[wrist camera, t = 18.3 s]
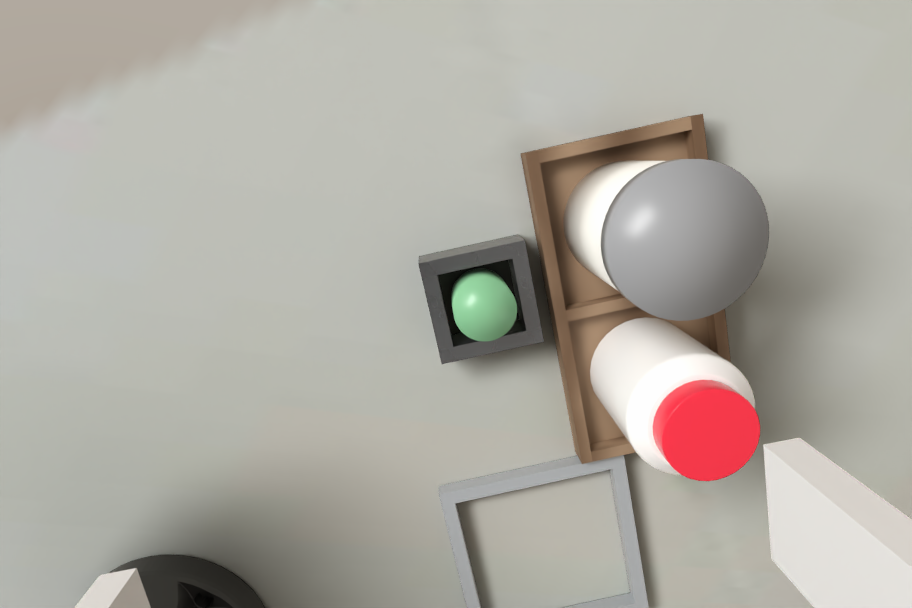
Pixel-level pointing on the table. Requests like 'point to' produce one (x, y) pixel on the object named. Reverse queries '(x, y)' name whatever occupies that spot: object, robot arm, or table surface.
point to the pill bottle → (675, 399)
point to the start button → (483, 305)
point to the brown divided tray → (584, 294)
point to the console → (472, 256)
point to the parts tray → (630, 604)
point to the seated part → (669, 233)
